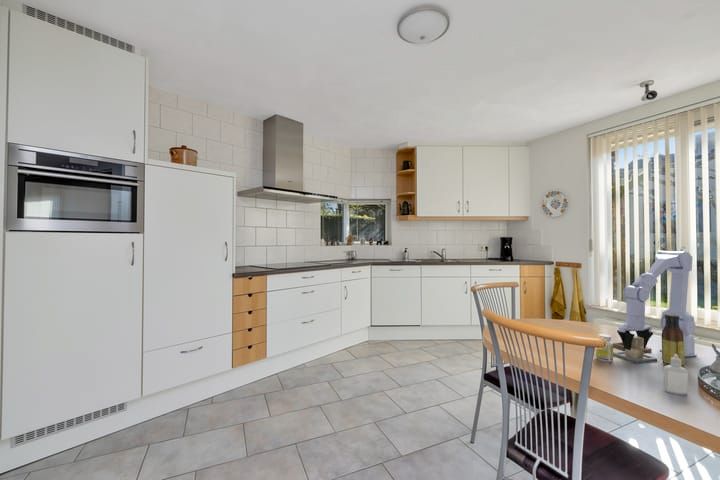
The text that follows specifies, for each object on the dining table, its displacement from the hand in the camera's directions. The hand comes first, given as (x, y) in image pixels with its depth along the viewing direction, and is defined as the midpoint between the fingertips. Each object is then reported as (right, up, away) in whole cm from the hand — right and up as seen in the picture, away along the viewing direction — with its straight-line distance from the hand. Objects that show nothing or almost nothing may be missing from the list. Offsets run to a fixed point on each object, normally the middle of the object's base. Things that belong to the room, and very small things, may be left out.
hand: (634, 348), depth 132 cm
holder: (+8, -4, +11) cm, 14 cm away
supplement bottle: (-14, -4, -2) cm, 15 cm away
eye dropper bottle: (-12, -4, -29) cm, 32 cm away
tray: (0, -4, 0) cm, 4 cm away
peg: (0, -3, 0) cm, 3 cm away
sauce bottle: (+8, -4, -8) cm, 12 cm away
